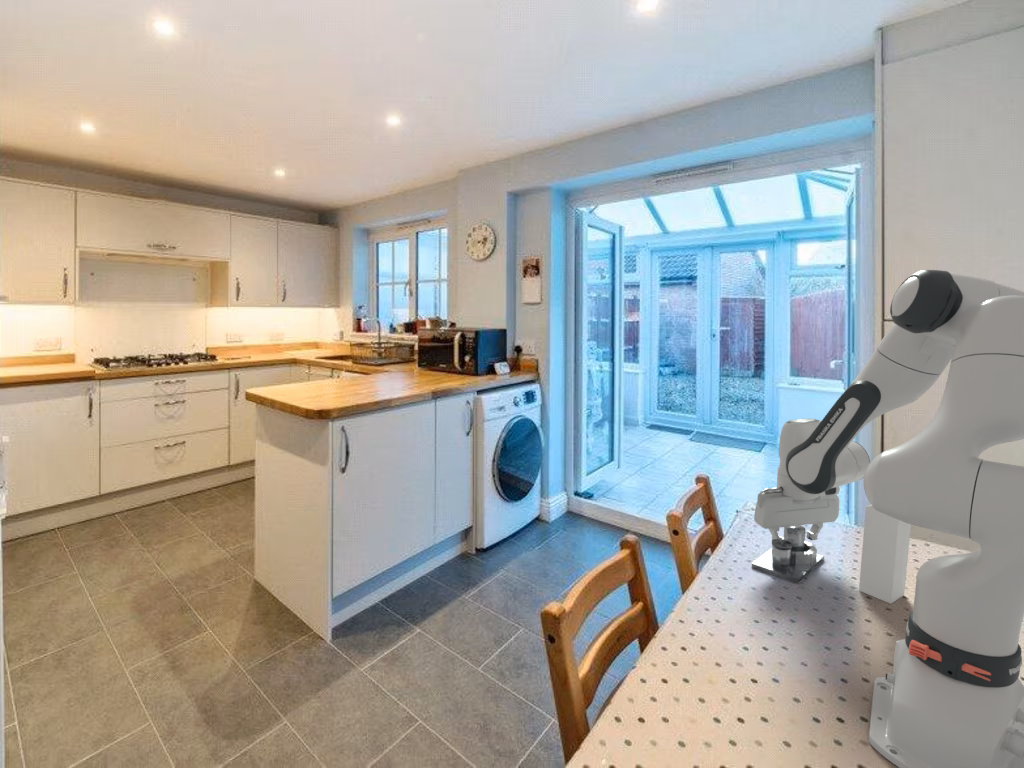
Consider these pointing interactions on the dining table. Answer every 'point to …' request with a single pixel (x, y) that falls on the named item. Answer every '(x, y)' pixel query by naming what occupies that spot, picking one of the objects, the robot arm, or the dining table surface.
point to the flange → (788, 561)
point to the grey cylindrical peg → (795, 537)
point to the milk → (884, 556)
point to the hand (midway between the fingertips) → (794, 541)
